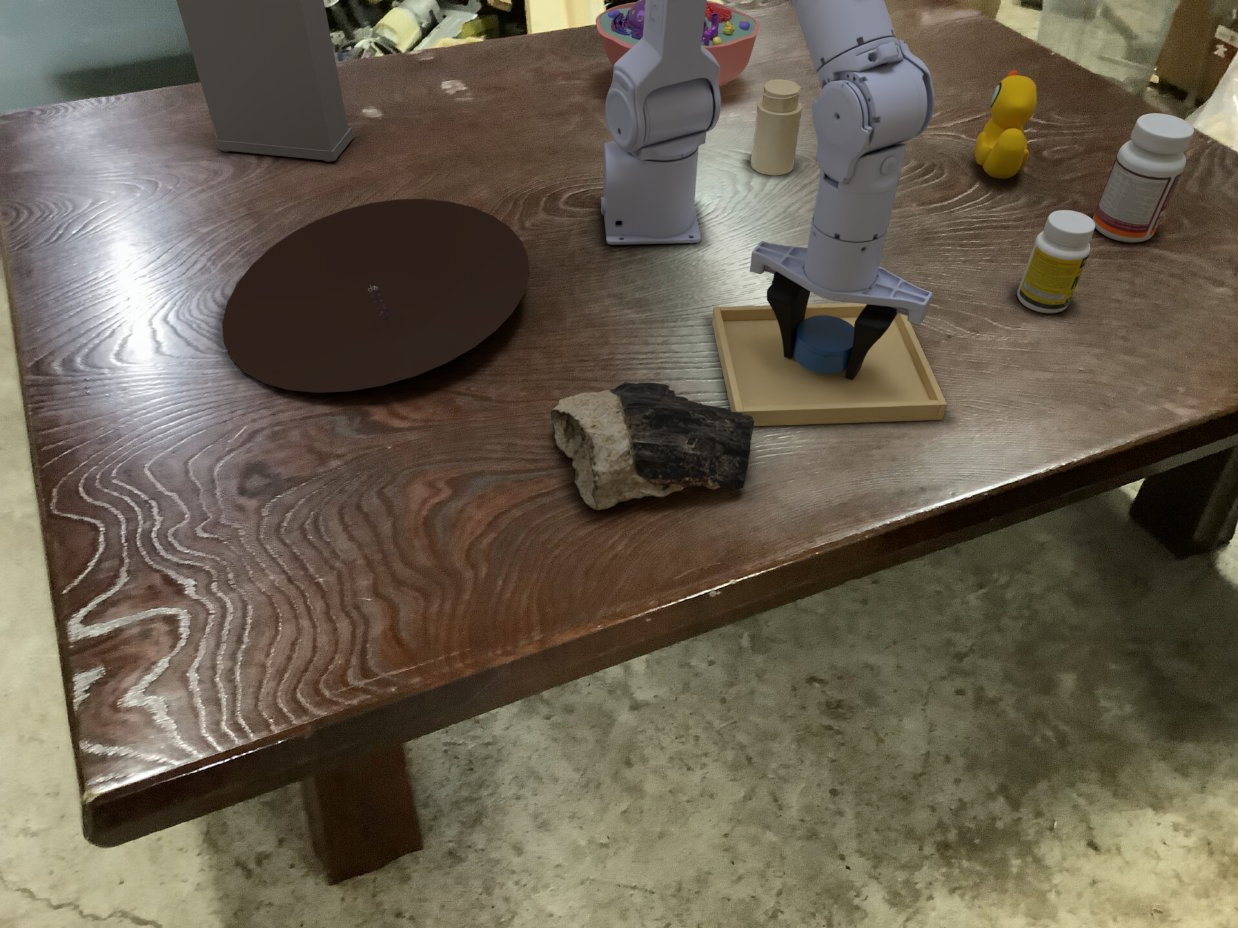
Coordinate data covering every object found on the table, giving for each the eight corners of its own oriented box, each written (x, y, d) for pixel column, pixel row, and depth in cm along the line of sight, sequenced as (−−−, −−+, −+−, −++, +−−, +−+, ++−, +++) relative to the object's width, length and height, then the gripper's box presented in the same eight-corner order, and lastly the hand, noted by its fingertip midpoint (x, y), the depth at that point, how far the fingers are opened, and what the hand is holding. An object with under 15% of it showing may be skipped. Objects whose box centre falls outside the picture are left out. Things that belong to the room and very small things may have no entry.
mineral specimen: (535, 365, 75) (715, 316, 78) (547, 435, 80) (715, 386, 83) (587, 472, 66) (788, 412, 69) (596, 543, 71) (783, 485, 74)
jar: (755, 176, 108) (764, 97, 102) (746, 155, 112) (755, 78, 106) (797, 174, 109) (809, 95, 103) (788, 154, 112) (799, 76, 106)
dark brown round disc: (204, 260, 96) (193, 227, 93) (479, 204, 104) (476, 172, 101) (247, 442, 77) (234, 407, 75) (576, 357, 86) (575, 323, 83)
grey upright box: (355, 138, 114) (309, -102, 96) (335, 163, 110) (283, -83, 92) (243, 128, 115) (178, -110, 98) (219, 152, 111) (146, -92, 94)
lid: (853, 377, 82) (858, 356, 80) (791, 370, 82) (795, 348, 80) (853, 340, 85) (858, 318, 84) (794, 333, 86) (798, 312, 84)
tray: (734, 427, 79) (736, 411, 78) (711, 321, 89) (713, 306, 88) (942, 419, 80) (947, 404, 79) (897, 316, 90) (900, 301, 89)
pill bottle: (1125, 209, 104) (1168, 106, 96) (1166, 238, 100) (1215, 134, 92) (1077, 219, 103) (1117, 115, 95) (1118, 249, 99) (1163, 144, 91)
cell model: (759, 121, 118) (770, 24, 110) (593, 118, 118) (592, 22, 110) (748, 63, 130) (757, -28, 122) (597, 61, 130) (597, -30, 122)
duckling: (967, 142, 115) (991, 57, 108) (1015, 147, 114) (1042, 61, 107) (972, 190, 107) (998, 101, 100) (1023, 195, 106) (1053, 106, 99)
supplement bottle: (1071, 318, 90) (1103, 238, 84) (1018, 311, 91) (1046, 232, 85) (1065, 288, 94) (1096, 210, 88) (1013, 282, 94) (1041, 204, 88)
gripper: (958, 224, 75) (918, 363, 84) (782, 176, 80) (763, 312, 89) (930, 269, 70) (891, 410, 80) (746, 215, 75) (730, 354, 85)
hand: (822, 362), depth 84 cm, fingers closed on lid, 5 cm apart
